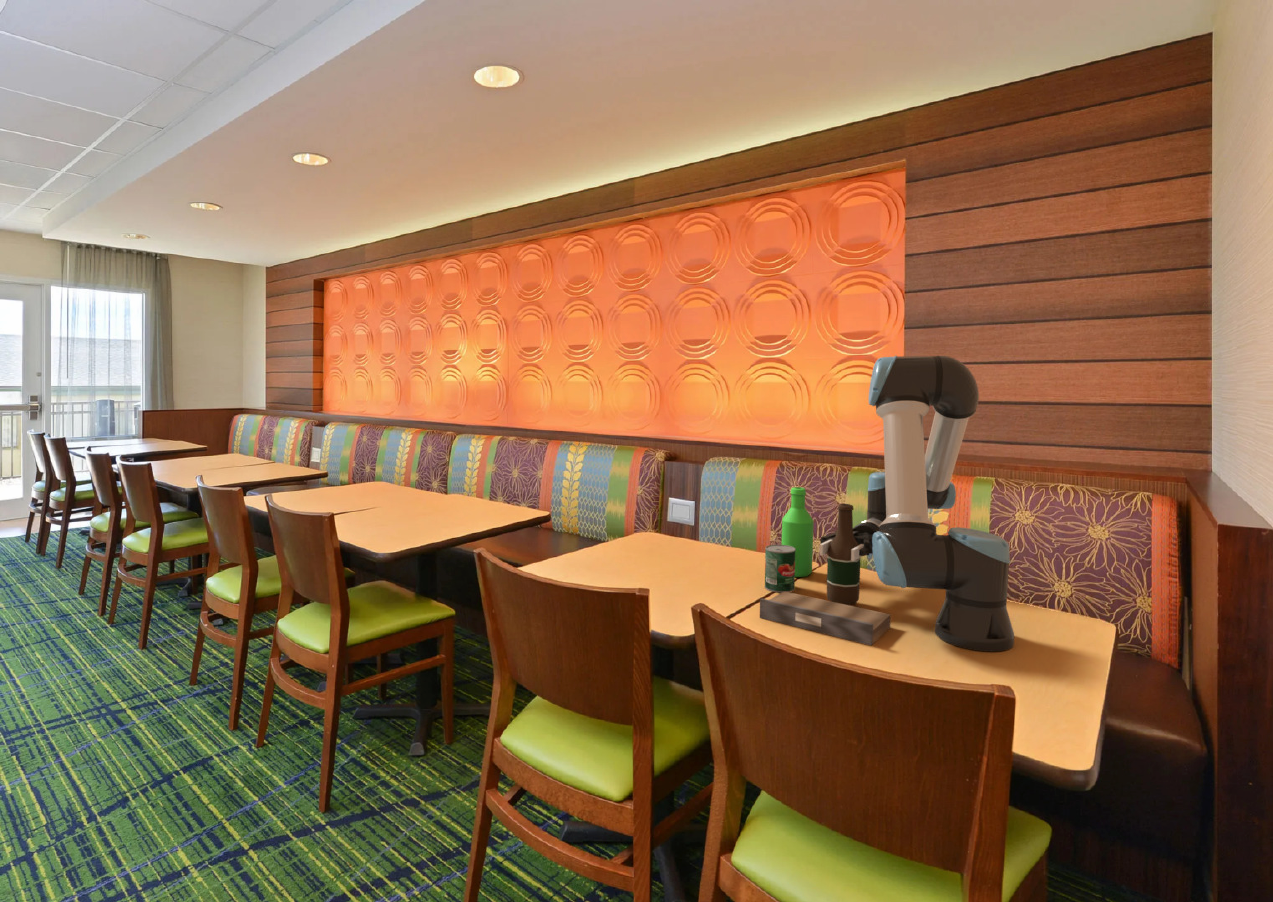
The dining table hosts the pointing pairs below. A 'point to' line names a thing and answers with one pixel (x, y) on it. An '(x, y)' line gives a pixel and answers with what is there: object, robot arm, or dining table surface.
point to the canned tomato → (779, 568)
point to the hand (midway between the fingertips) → (836, 552)
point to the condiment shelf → (826, 617)
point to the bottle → (799, 532)
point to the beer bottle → (843, 561)
